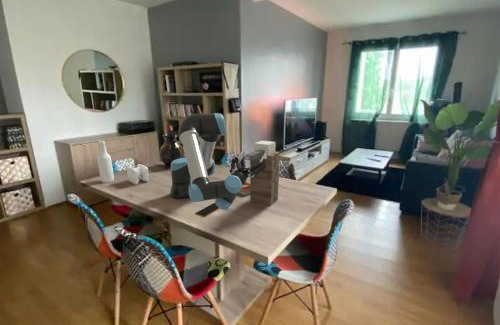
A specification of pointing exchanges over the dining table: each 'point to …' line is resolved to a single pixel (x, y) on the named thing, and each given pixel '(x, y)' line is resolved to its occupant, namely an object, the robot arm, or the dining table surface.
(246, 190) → the hardcover book
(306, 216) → the dining table surface
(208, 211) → the smartphone
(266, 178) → the stand
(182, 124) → the robot arm
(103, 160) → the alcohol
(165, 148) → the amphora vase
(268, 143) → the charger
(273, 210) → the dining table surface
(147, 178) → the cable organizer
